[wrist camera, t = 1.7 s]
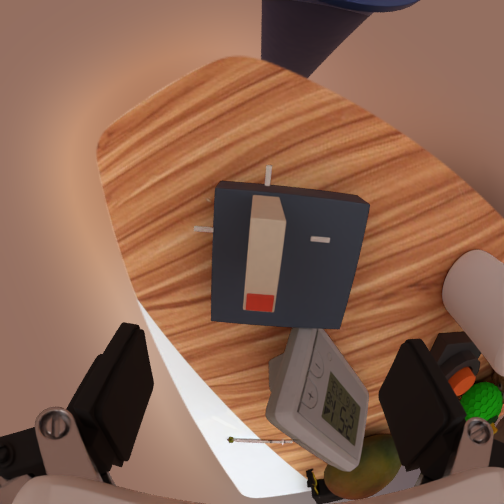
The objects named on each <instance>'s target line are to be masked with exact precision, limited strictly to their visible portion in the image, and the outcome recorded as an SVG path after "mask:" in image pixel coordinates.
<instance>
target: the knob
mask: <svg viewBox="0 0 504 504" xmlns="http://www.w3.org/2000/svg"><path fill="white" fill-rule="evenodd" d="M285 229H286V219H285V215H284V212H283V208H282V205H281V201H280V198H279V197H272V196H262V195H253V199H252V209H251V218H250V230H249V242H248V254H247V266H246V278H245V290H244V302H243V310H250V311H263V312H274V309H275V302H276V295H277V288H278V281H279V274H280V267H281V260H282V252H283V245H284V237H285Z"/></svg>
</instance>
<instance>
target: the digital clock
mask: <svg viewBox="0 0 504 504" xmlns="http://www.w3.org/2000/svg"><path fill="white" fill-rule="evenodd" d="M269 387H270V391H271V395H270V398H269V401H268V404H267V408H266V418H267V419H268V421H269V422H270V423H271V424H273V425H274V426H275V427H276V428H278V429H279V430H280V431H282V432H283V433H285V434H286V435H287V436H289V437H290V438H291V439H293V441H294V442H296V443H297V444H299V445H300V446H301V447H303V448H304V449H306V450H307V451H309V452H310V453H312V454H314V455H315V456H317V457H318V458H320V459H321V460H323V461H324V462H326V463H328V464H329V465H331V466H334V467H336V468H337V469H340V470H342V471H352V470H353V469H355V468H356V467H357V466H358V465H359V462H360V457H361V452H362V446H363V439H364V433H365V426H366V418H367V410H368V401H369V394H368V391H367V389H366V388H365V386H364V385H363V383H362V382H361V380H360V379H359V378H358V376H357V375H356V373H355V372H354V371H353V369H352V368H351V366H350V365H349V364H348V362H347V361H346V360H345V358H344V357H343V355H342V354H341V353H340V351H339V350H338V349H337V347H336V346H335V344H334V343H333V342H332V340H331V339H330V337H329V336H328V335H327V333H326V332H325V331H324V329H317V328H295V327H293V328H292V330H291V332H290V335H289V339H288V342H287V345H286V349H285V352H284V353H283V354H281V355H279V356H277V357H275V358H273V359H271V360H270V361H269Z"/></svg>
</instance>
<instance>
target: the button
mask: <svg viewBox="0 0 504 504" xmlns="http://www.w3.org/2000/svg"><path fill="white" fill-rule="evenodd" d="M475 379H476V378H475V376H474V374H473V373H472V371H471V369H470V368H469V367H464V368H463V369H461V370H459V371H457V372H456V373H455V374H454V375H453V376H452V377H451V378H450V379H449V381H448V382H449V384H450V385H451V387H452V389H453V390H454V392H455V394H456V396H459V395H461V394H463V393H465V392H466V391H467V390H469V389H470V388H471V386H472V385H473V384H474V382H475Z"/></svg>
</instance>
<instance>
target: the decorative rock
mask: <svg viewBox="0 0 504 504" xmlns="http://www.w3.org/2000/svg"><path fill="white" fill-rule="evenodd" d="M492 380H493V381H494V382H495V384H496V386H497V387H498V388H499V390H500V391H501V393H502V397H503V401H502V403H503V404H504V376H501V375H499V374H498V373H496V372H494V374H493V375H492Z"/></svg>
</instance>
